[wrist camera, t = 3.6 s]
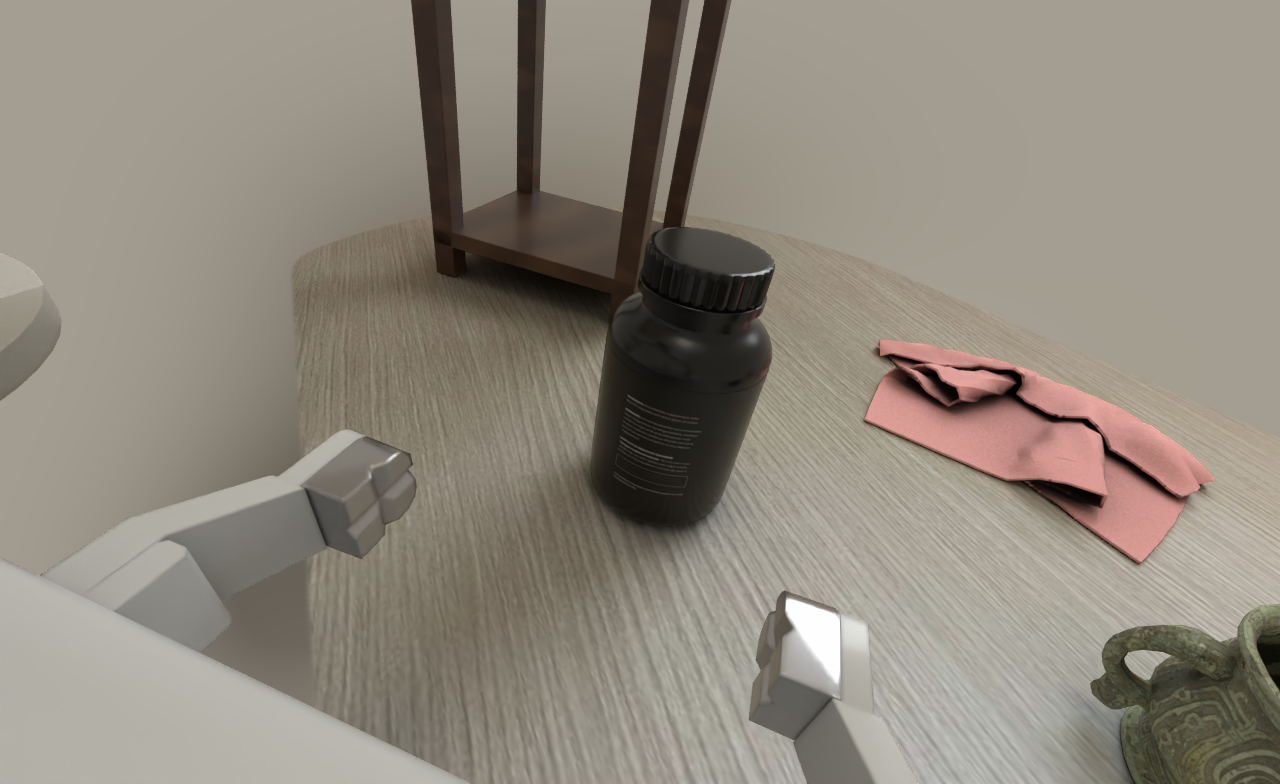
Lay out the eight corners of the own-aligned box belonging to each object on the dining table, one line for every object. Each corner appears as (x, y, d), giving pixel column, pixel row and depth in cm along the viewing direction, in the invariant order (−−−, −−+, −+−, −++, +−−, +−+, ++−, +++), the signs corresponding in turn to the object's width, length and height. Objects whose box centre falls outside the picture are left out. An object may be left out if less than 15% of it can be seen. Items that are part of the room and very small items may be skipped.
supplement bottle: (749, 493, 25) (843, 273, 18) (648, 558, 21) (717, 309, 14) (661, 416, 29) (710, 209, 22) (561, 459, 25) (581, 224, 18)
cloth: (1250, 493, 32) (1284, 467, 31) (1075, 604, 23) (1113, 575, 21) (972, 331, 46) (987, 307, 45) (793, 359, 37) (804, 331, 35)
